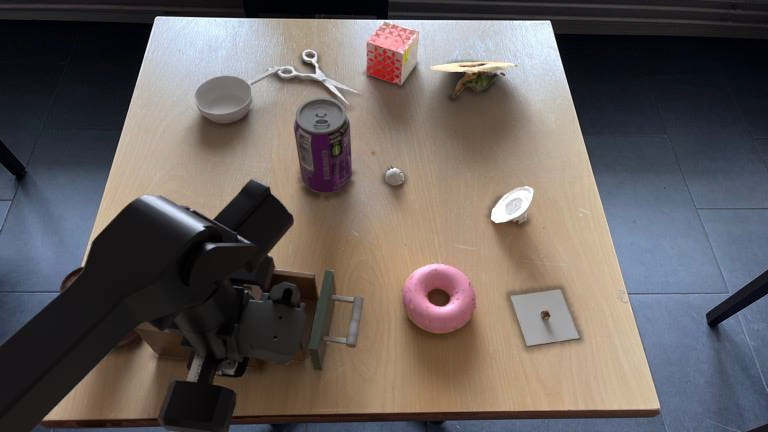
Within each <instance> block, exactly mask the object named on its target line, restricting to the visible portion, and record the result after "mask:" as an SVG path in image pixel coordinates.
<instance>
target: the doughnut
mask: <svg viewBox="0 0 768 432" xmlns="http://www.w3.org/2000/svg"><path fill="white" fill-rule="evenodd" d="M469 279H470V278H469V277H467V275H466V274H464V273H463V272H462V271H461V270H458V269H457V268H455V267H454V266H450V265H447V264H443V262H442V263H431V264H426V265H424V266H421V267H419V268H417V269H416V270H414V271H411V274H409V276H408V277H407V279H406V281H405V282H404V283H403V286H402V289H401V290H400V291H401V302H402V306H403V310H404V311H405V314H406V315H407V317H408V318H409V320H410V321H412V323H413V324H414V325H416V326H417V327H418V328H420V329H421V330H424V331H427V332H429V333H433V334H448V333H452V332H454V331H457V330H458V329H460V328H462V327H464V326H465V325H466V324H467V323H469V321H470V319H471V318H472V317H473V314H474V312H475V309H476V308H477V307H476V304H477V301H476V300H477V297H476V292H475V289H474V285H473V284H472V282H470V281H471V280H469ZM433 290H441V291H443V292H445V293H446V294H447V295H448V296H449V301H448V303H447V304H445V305H440V306H439V305H438V306H437V304H433V303H432V302H430V300H429V296H428V295H429V293H430V292H431V291H433Z"/></svg>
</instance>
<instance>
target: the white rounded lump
mask: <svg viewBox="0 0 768 432" xmlns="http://www.w3.org/2000/svg"><path fill="white" fill-rule="evenodd" d="M385 181H386V182H387V183H388V184H389V185H391V186H400V185H401V184H403V183H405V175H404V173H403V171H401V170H400V169H399V168H394V167H393V166H392V165H390V167H387V172H386V173H385Z"/></svg>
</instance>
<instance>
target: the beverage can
mask: <svg viewBox="0 0 768 432" xmlns="http://www.w3.org/2000/svg"><path fill="white" fill-rule="evenodd" d="M346 111H347V110H346V109H345V106H344V105H343V104H342V103H340V102H339V101H338V100H337V99H333V98H330V97H324V96H322V97H321V96H320V97H319V96H318V97H314V98H310V99H308V100H306V101H304V102H303V103H301V104H300V105H299V106H298V108H297V109H296V112H295V119H294V122H293V133H294V138H295V139H294V140H295V145H296V151H297V158H298V164H299V170H300V171H299V172H300V176H301V180H302V182H303V184H304V185H305V186H306V187H307V188H308V189H310V190H311V191H314V192H316V193H320V194H321V193H322V194H331V193H335V192H338V191H341V190H343V189H344V188H345V187H346V186H347V185H348V184H349V183H350V181H351V179H352V176H353V165H352V164H353V162H352V140H351V139H352V138H351V137H352V135H351V121H350V118H349V116H348V115H347V112H346Z"/></svg>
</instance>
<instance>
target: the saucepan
mask: <svg viewBox="0 0 768 432" xmlns="http://www.w3.org/2000/svg"><path fill="white" fill-rule="evenodd" d="M271 68H272V69H270V70H268V69H267V70H266V71H264V72H262V73H260V74H258V75H256V76H255V77H253V78H251V79H249V80H245V79H244V78H242V77H239V76H236V75H227V74H225V75H217V76H214V77H212V78H209V79H207V80H205V81H204V82H201V84H199V86H198V87H197V88H196V90H195V92H194V94H193V100H194V104H195V105H196V108H197V109H198V112H200V113H201V114H202V115H203V116H204V117H205V118H207V119H209V120H210V121H212V122H214V123H217V124H230V123H234V122H237V121H239V120H241V119H242V118H244V117H245V116H246V115H247V113H248V112H249V110H250V109H251V105H252V103H253V89H252V86H253V85H255V84H257V83H259V82H261V81H263V80H264V79H266V78H268V77H271V76H273V75H274V74H277V73H276V72H278V71H280V70H281V67H280V66H278V65H275V66H274V67H271Z"/></svg>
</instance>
